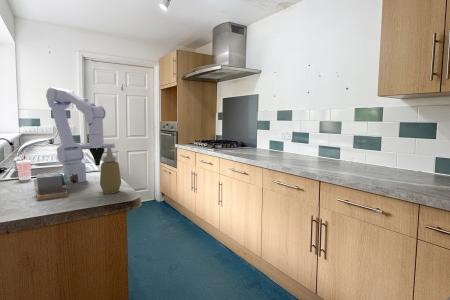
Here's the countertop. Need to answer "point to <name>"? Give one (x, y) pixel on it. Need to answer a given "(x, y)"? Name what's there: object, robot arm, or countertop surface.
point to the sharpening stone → (50, 186)
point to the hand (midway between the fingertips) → (97, 165)
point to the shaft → (63, 179)
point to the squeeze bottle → (110, 174)
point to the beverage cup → (24, 169)
